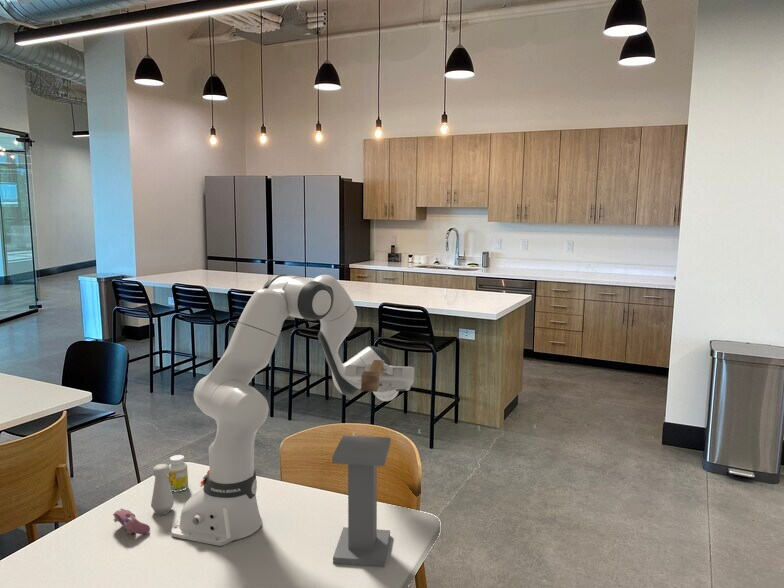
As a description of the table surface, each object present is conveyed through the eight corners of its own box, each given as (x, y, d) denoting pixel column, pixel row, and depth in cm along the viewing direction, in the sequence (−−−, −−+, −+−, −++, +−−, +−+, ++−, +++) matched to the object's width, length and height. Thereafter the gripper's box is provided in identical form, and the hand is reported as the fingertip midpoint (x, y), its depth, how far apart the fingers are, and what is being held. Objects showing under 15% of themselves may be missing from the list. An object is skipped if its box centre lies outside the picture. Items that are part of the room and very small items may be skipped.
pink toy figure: (120, 530, 148) (106, 512, 145) (135, 516, 151) (122, 499, 148) (137, 544, 142) (123, 526, 139) (152, 530, 144) (139, 512, 141)
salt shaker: (166, 517, 151) (163, 471, 150) (147, 515, 153) (144, 469, 151) (178, 507, 157) (176, 462, 155) (160, 504, 158) (157, 460, 157)
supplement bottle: (190, 489, 167) (189, 458, 166) (171, 494, 164) (170, 463, 163) (185, 482, 172) (183, 452, 170) (166, 487, 168) (165, 456, 167)
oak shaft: (361, 391, 143) (361, 375, 143) (372, 370, 163) (372, 356, 163) (376, 391, 143) (377, 376, 142) (385, 370, 163) (385, 356, 162)
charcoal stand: (333, 563, 132) (332, 457, 128) (343, 532, 145) (343, 435, 141) (384, 566, 131) (384, 459, 127) (390, 535, 144) (390, 437, 140)
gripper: (349, 367, 174) (341, 355, 161) (415, 370, 172) (413, 357, 159) (347, 387, 172) (339, 376, 159) (415, 390, 169) (412, 379, 157)
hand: (377, 367), depth 159 cm, fingers closed on oak shaft, 3 cm apart
